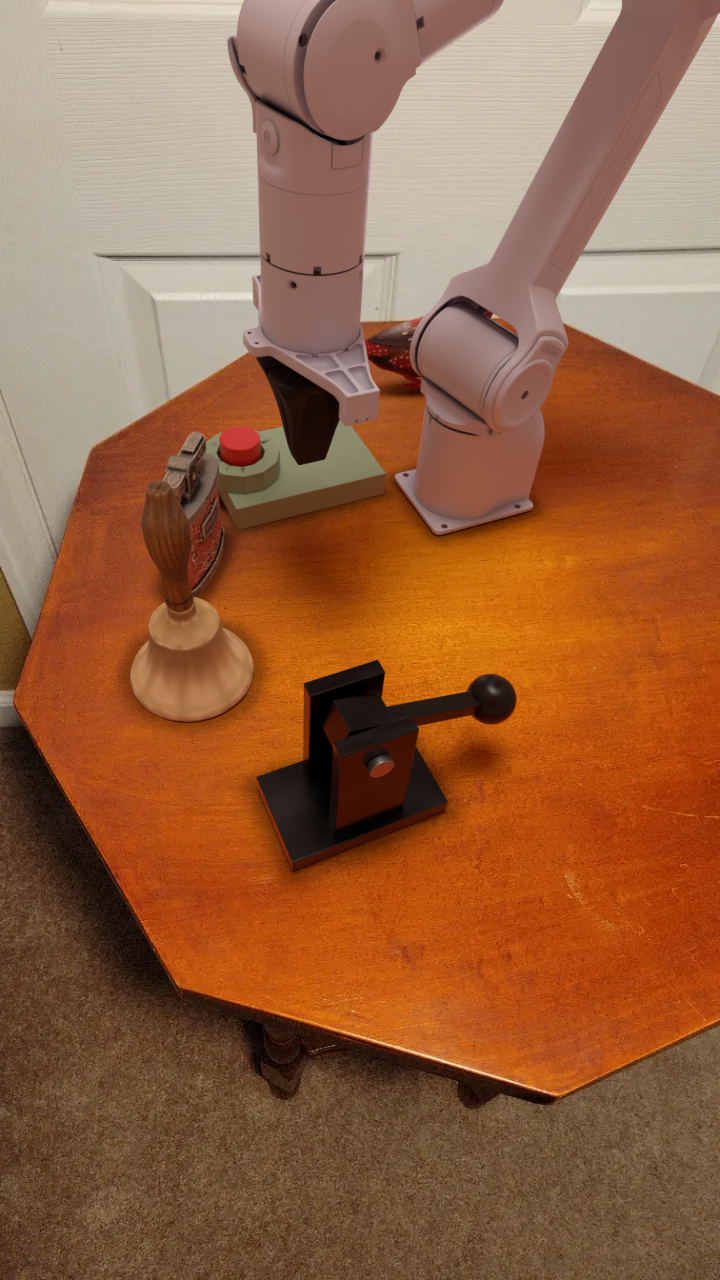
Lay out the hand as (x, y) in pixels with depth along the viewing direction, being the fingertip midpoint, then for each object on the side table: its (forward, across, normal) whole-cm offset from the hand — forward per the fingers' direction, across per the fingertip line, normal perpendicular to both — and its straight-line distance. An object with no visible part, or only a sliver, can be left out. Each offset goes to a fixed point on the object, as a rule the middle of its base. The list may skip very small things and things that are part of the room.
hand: (308, 456), depth 54 cm
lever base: (+10, +20, -5) cm, 23 cm away
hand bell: (+11, +6, -11) cm, 17 cm away
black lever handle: (+5, +20, -1) cm, 20 cm away
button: (+7, -10, -1) cm, 12 cm away
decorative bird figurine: (+10, -19, +18) cm, 28 cm away
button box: (+10, -10, +3) cm, 15 cm away
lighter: (+11, -4, -8) cm, 14 cm away
